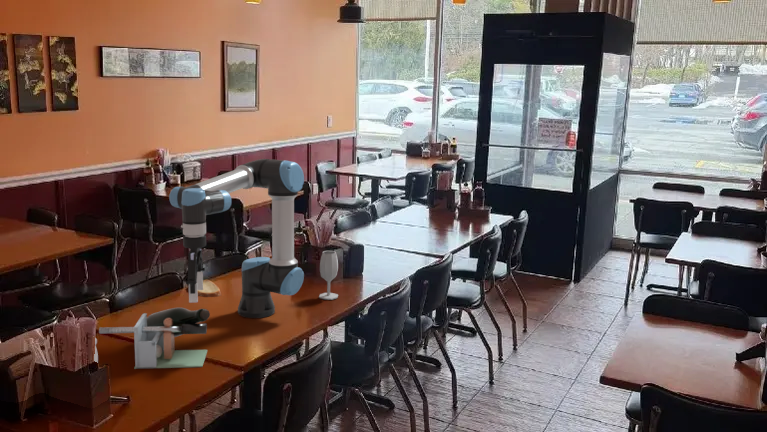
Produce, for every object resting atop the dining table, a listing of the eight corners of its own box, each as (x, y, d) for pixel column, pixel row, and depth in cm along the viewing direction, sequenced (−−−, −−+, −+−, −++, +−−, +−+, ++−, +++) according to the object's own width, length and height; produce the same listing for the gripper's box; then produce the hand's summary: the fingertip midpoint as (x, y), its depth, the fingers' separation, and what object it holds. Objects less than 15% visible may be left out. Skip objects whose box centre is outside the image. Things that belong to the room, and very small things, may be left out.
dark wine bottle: (137, 330, 246) (186, 317, 225) (152, 307, 253) (202, 292, 231) (159, 347, 251) (209, 335, 229) (174, 323, 257) (224, 310, 236)
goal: (164, 351, 241) (162, 313, 238) (156, 368, 228) (154, 327, 225) (144, 352, 240) (143, 313, 238) (135, 368, 227) (133, 327, 224)
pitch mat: (207, 350, 243) (207, 349, 243) (202, 366, 230) (202, 365, 229) (143, 352, 240) (143, 351, 240) (134, 368, 227) (134, 367, 227)
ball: (149, 341, 235) (148, 355, 236) (146, 347, 230) (145, 361, 231) (164, 342, 236) (163, 356, 237) (161, 348, 231) (160, 361, 232)
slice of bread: (218, 298, 303) (218, 290, 303) (179, 296, 305) (179, 288, 304) (230, 286, 321) (230, 278, 320) (193, 284, 322) (193, 276, 322)
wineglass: (315, 298, 305) (315, 253, 301) (324, 293, 313) (324, 249, 309) (333, 301, 302) (333, 255, 298) (341, 296, 310) (342, 251, 306)
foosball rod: (207, 351, 239) (207, 314, 236) (205, 358, 233) (204, 320, 231) (103, 353, 235) (101, 316, 232) (98, 360, 229) (96, 322, 226)
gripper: (188, 227, 239) (190, 285, 244) (176, 243, 215) (178, 307, 219) (210, 227, 240) (211, 284, 245) (201, 243, 216) (202, 307, 220)
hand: (196, 295), depth 232 cm, fingers open, 13 cm apart
